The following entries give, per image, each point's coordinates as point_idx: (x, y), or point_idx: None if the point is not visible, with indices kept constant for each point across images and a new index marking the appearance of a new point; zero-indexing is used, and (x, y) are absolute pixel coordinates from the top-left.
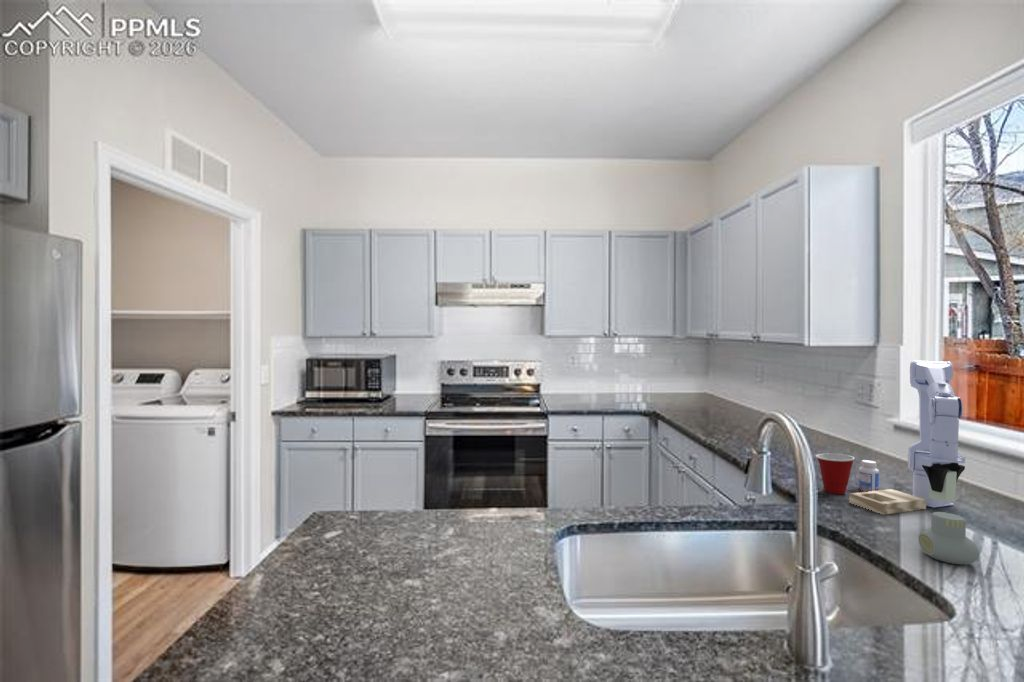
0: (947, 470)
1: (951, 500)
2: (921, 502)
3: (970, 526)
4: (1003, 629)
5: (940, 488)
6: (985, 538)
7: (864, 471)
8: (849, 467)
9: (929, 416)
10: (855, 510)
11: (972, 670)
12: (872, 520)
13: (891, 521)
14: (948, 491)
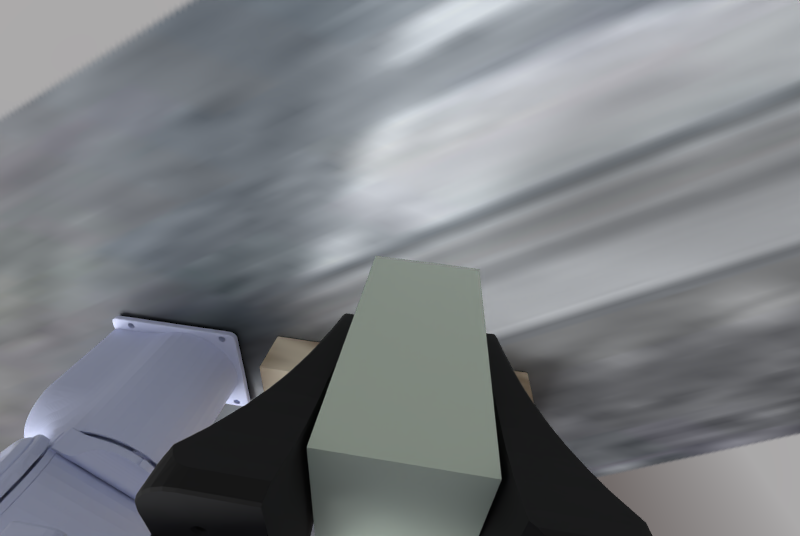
0: (560, 515)
1: (416, 266)
2: (294, 362)
3: (309, 167)
4: None
5: (504, 356)
6: (436, 34)
7: None
8: None
9: None
10: (569, 424)
11: None
12: (654, 362)
13: (593, 330)
14: (453, 312)
